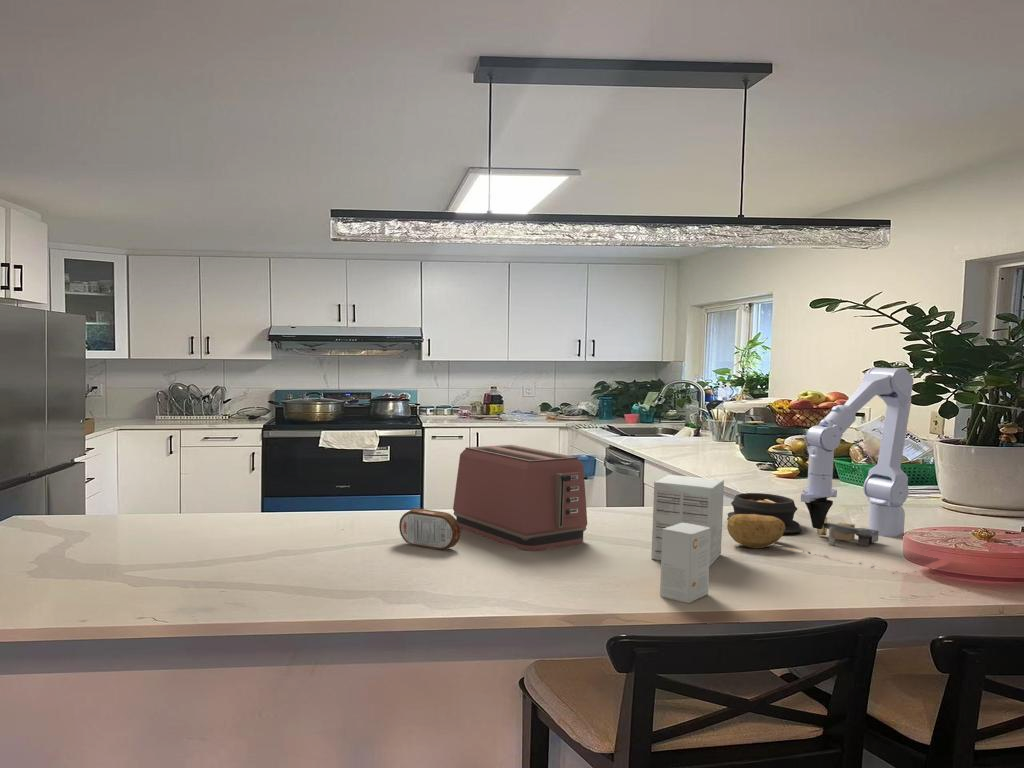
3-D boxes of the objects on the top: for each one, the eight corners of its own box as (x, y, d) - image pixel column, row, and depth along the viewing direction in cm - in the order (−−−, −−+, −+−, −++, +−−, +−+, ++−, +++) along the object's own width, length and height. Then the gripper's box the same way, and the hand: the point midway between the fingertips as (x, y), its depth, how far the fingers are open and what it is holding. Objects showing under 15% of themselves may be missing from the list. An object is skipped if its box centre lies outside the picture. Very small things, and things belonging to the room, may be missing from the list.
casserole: (819, 540, 200) (821, 507, 200) (750, 540, 197) (751, 507, 197) (773, 518, 225) (775, 489, 224) (711, 518, 222) (712, 489, 222)
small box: (679, 587, 155) (682, 521, 155) (709, 594, 151) (712, 527, 151) (658, 596, 149) (661, 528, 149) (689, 604, 145) (692, 533, 144)
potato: (792, 552, 186) (793, 519, 186) (734, 551, 185) (735, 518, 185) (775, 542, 196) (776, 510, 195) (719, 541, 195) (721, 509, 194)
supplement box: (665, 547, 188) (668, 473, 187) (721, 554, 182) (725, 479, 181) (649, 559, 176) (652, 481, 175) (709, 568, 170) (712, 487, 169)
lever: (827, 531, 203) (828, 513, 203) (880, 541, 193) (881, 523, 193) (814, 534, 198) (815, 517, 198) (867, 545, 188) (868, 527, 188)
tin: (460, 550, 179) (461, 513, 178) (453, 553, 176) (454, 515, 175) (404, 541, 185) (405, 505, 185) (396, 544, 182) (397, 508, 182)
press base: (825, 534, 206) (826, 513, 206) (902, 550, 192) (903, 527, 191) (794, 542, 196) (795, 521, 195) (873, 560, 181) (874, 536, 181)
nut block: (840, 536, 200) (840, 522, 200) (854, 538, 197) (854, 524, 197) (834, 538, 197) (834, 524, 197) (849, 540, 195) (849, 526, 195)
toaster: (532, 555, 177) (535, 464, 176) (450, 525, 204) (452, 446, 203) (594, 544, 188) (597, 459, 187) (509, 517, 215) (511, 443, 215)
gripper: (819, 469, 204) (816, 521, 205) (790, 474, 195) (787, 528, 195) (845, 473, 199) (842, 527, 200) (817, 478, 189) (814, 534, 190)
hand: (817, 528), depth 197 cm, fingers closed
